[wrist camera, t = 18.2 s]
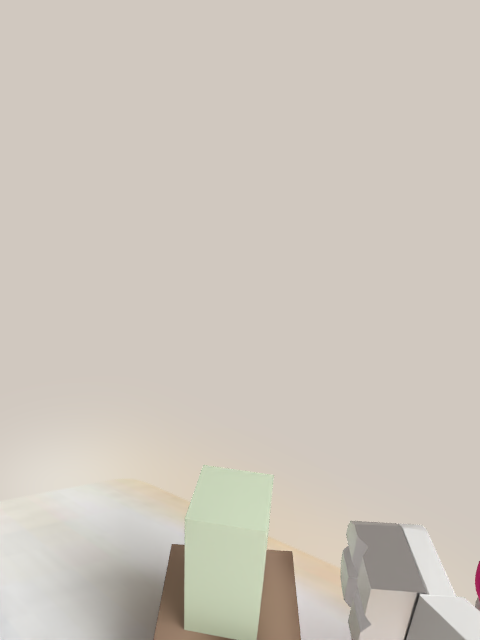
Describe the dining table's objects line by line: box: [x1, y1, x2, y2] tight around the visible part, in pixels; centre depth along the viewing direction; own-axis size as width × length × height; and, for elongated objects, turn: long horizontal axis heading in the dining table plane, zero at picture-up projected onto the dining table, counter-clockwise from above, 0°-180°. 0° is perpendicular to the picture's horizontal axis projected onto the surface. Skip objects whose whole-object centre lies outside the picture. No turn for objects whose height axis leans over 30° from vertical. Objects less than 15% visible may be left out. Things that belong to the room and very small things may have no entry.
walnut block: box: [153, 544, 301, 640], centre depth 35 cm, size 10×10×6 cm
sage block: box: [184, 465, 274, 640], centre depth 32 cm, size 5×5×10 cm
